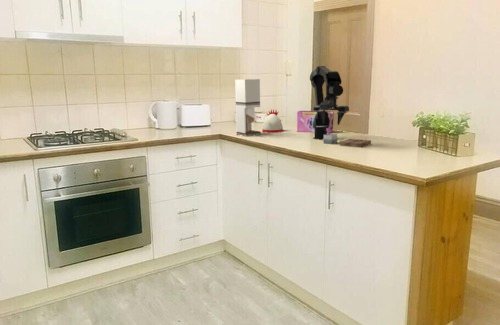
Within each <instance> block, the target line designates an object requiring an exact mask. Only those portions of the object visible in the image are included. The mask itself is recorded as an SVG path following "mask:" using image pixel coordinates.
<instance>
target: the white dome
mask: <svg viewBox="0 0 500 325" xmlns="http://www.w3.org/2000/svg"><path fill="white" fill-rule="evenodd" d="M278 114H279V111H277V109H270V111H268V113H266V115H267V116H266V117H265V119H264V121H263V124H262V132H263V133H267V134H268V133H270V134H271V133H273V134H274V133H276V134H277V133H282V132H284V127H283V124H282V120H281V119H280V117H279V116H278Z"/></svg>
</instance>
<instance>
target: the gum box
mask: <svg viewBox="0 0 500 325" xmlns="http://www.w3.org/2000/svg"><path fill="white" fill-rule="evenodd" d="M325 111H326V112H328V116H329V119H330V123H329V128H327V134H328V133H331V134H332V133H333V132H334V117H335V114H334V113H335V112H334V110H325ZM316 113H317V112H316V111H314V110H299V111H297V112H296V121H297V122H296V132H297V133H313V134H315V129H314V128H313V125H312V124H313V121H314V119H315V115H316Z"/></svg>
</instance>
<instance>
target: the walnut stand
mask: <svg viewBox="0 0 500 325" xmlns="http://www.w3.org/2000/svg"><path fill="white" fill-rule="evenodd" d="M371 144H372V140H370V139H360V138H359V139H357V138H348V139H345V140H341V141H339V146H341V147H342V146H343V147H344V146H345V147H354V148H364V147H366V146H369V145H371Z"/></svg>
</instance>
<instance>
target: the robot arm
mask: <svg viewBox="0 0 500 325" xmlns="http://www.w3.org/2000/svg"><path fill="white" fill-rule="evenodd" d="M340 75H341V74H340V73H339V71H337V70H331V69H329V68H327V66H325V65H318V66H316V68H315V69H314V70H312V71H311V73H310V75H309V80H310V84H311V86H312V88H314V89H313V90H314V96H315V97H314V98H315V105H314V106H313V111H316V112H317V113H316V115H315V119H314V121H313V124H312V125H313V128H314V129H315V133H314V137H313V139H317V140H324V134H328V133H327V128H329V123H330V119H329V116H328V112H326V111H338V112H336V114H337V125H339V126H340V124H341V121H342V119H343V117H344V115H345V114H346V113H347V112H349V111H350V107H349V105H339V106H338V104H337V102H338V101H337V100H338V99H339V98H338V97H339V96H342V95H343V93H344V87H343V86H342V78H341V76H340ZM324 84H325V97H324V89H323V88H324Z"/></svg>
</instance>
